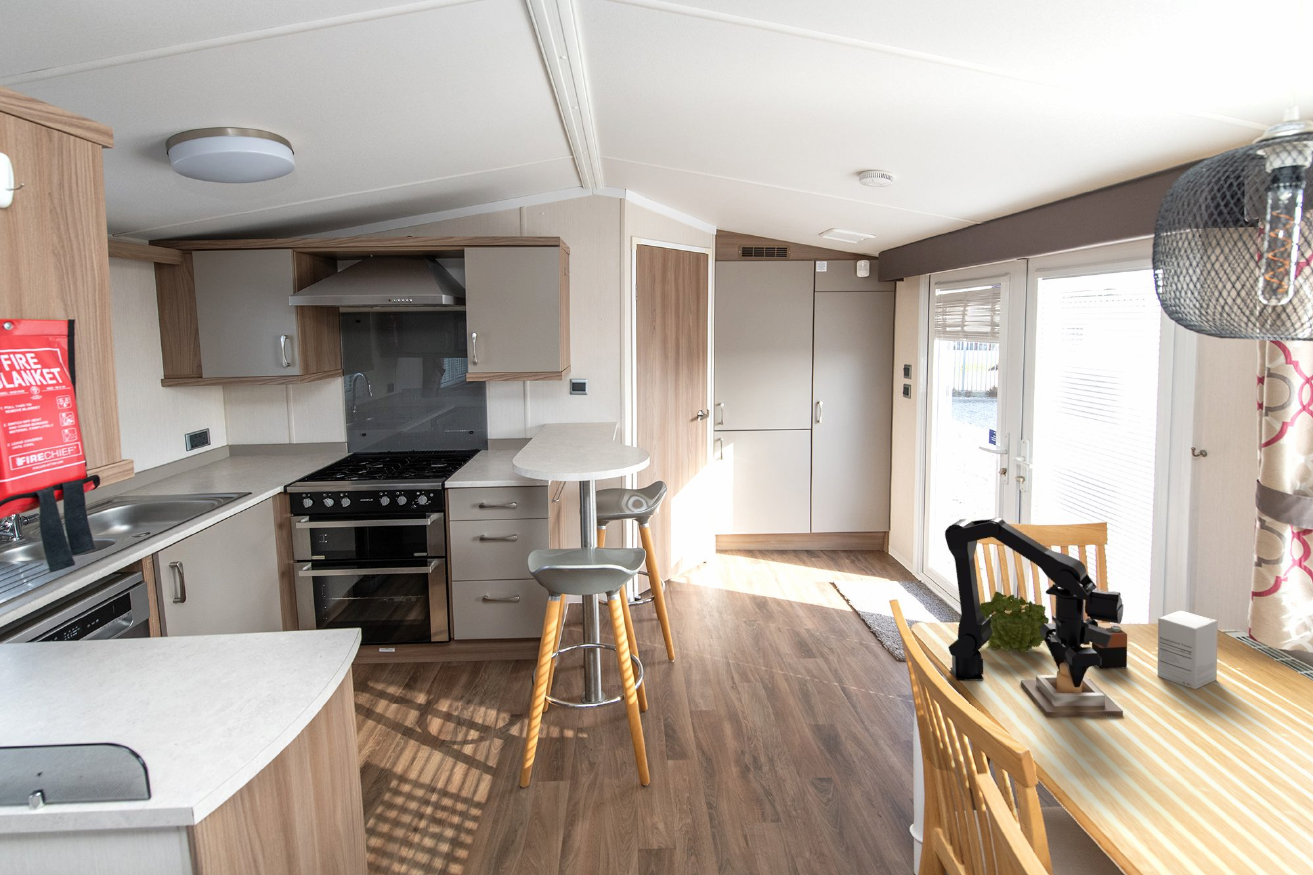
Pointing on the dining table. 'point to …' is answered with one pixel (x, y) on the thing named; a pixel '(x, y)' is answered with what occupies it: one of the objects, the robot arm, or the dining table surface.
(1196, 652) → the supplement box
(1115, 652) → the battery
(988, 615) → the green leafy plant
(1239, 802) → the dining table surface
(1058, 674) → the tan rounded cylinder
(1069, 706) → the collar board
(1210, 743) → the dining table surface
